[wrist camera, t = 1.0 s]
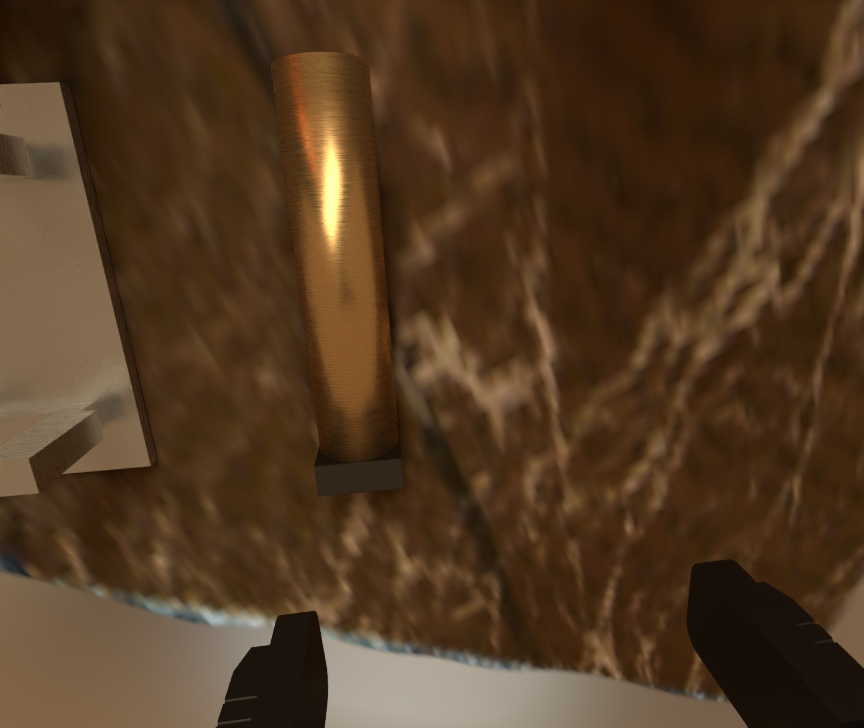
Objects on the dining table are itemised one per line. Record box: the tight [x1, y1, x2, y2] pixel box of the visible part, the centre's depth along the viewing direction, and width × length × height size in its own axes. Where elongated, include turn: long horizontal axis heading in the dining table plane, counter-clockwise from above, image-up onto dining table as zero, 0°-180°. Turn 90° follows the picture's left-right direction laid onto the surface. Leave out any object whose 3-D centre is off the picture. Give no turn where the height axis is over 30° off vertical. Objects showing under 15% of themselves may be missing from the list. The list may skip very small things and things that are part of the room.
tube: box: [271, 52, 404, 496], centre depth 24 cm, size 19×4×4 cm, turn 3°
